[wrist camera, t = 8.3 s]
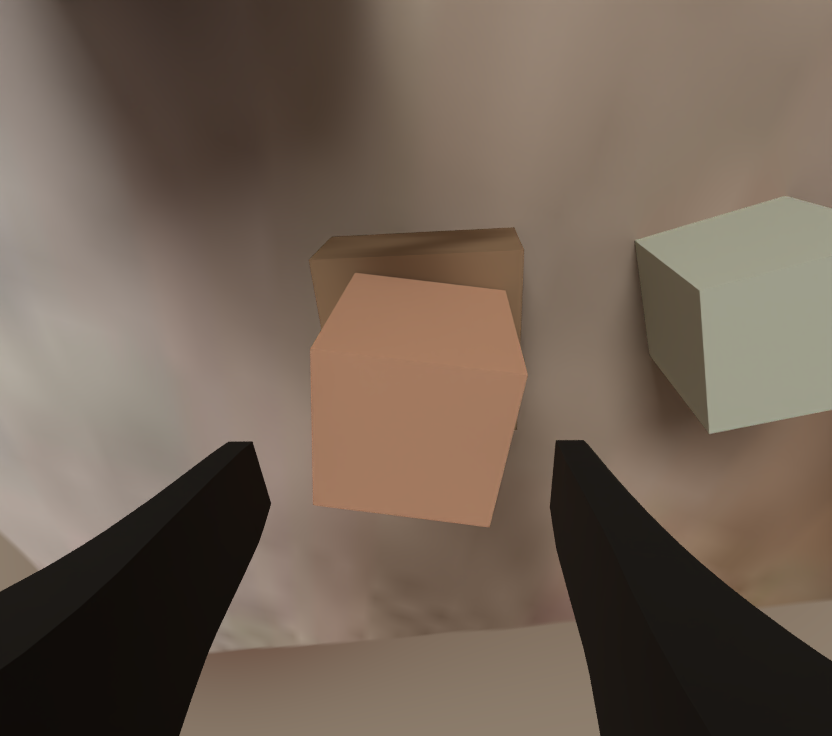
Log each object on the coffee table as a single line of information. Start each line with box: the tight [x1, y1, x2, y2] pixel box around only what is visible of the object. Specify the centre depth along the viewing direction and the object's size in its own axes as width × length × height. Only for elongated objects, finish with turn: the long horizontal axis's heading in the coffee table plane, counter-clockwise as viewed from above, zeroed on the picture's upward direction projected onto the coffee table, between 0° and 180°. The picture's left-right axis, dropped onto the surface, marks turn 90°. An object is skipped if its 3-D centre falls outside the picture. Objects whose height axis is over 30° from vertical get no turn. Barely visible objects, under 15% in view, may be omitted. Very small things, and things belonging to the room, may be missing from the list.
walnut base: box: [309, 228, 524, 430], centre depth 18 cm, size 7×7×4 cm
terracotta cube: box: [310, 273, 528, 527], centre depth 14 cm, size 5×5×6 cm
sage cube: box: [635, 196, 832, 434], centre depth 16 cm, size 5×5×6 cm
